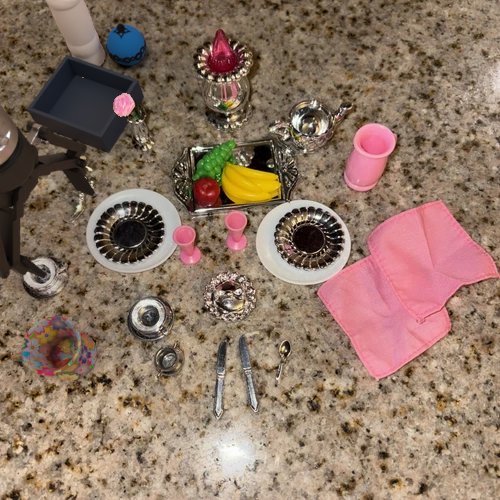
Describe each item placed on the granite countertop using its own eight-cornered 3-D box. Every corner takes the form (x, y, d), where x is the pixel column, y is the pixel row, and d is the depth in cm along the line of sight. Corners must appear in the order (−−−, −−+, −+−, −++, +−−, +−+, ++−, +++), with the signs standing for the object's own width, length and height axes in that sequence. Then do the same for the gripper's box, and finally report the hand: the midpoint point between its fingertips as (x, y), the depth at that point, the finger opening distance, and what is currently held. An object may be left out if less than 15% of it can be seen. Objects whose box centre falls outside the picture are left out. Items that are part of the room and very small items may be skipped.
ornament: (132, 39, 114) (121, 3, 105) (157, 59, 112) (148, 23, 103) (104, 60, 112) (90, 25, 103) (128, 80, 110) (116, 47, 100)
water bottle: (91, 76, 110) (46, -22, 87) (69, 62, 112) (19, -39, 89) (112, 57, 112) (74, -45, 89) (90, 43, 114) (47, -61, 91)
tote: (37, 126, 105) (26, 109, 100) (75, 72, 111) (66, 54, 106) (109, 153, 103) (101, 137, 97) (144, 97, 108) (138, 79, 103)
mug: (97, 325, 89) (77, 310, 79) (103, 376, 85) (83, 367, 76) (31, 340, 88) (2, 326, 78) (34, 392, 85) (4, 385, 75)
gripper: (-58, 264, 45) (38, 320, 65) (77, 65, 54) (126, 168, 73) (-124, 236, 46) (-10, 299, 66) (18, 46, 55) (82, 152, 74)
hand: (62, 230), depth 70 cm, fingers open, 13 cm apart
